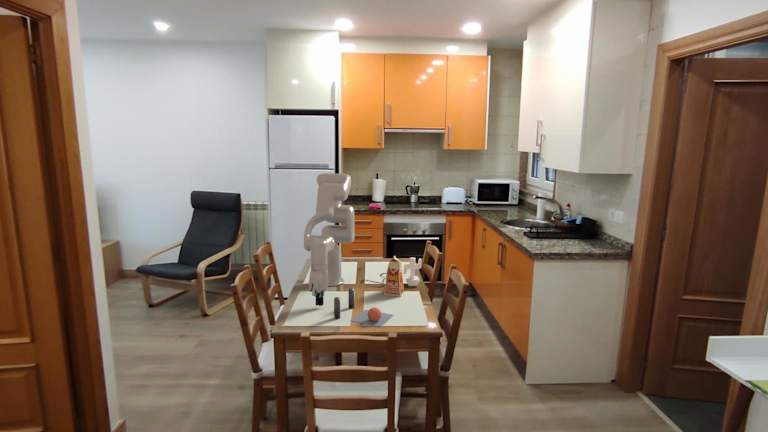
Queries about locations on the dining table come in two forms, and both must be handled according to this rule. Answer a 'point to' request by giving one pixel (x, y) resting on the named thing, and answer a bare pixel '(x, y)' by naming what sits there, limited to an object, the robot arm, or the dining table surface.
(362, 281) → the sunglasses
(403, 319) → the dining table surface
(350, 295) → the post
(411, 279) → the figurine
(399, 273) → the milk carton
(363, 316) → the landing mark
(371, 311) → the ball
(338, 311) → the post
